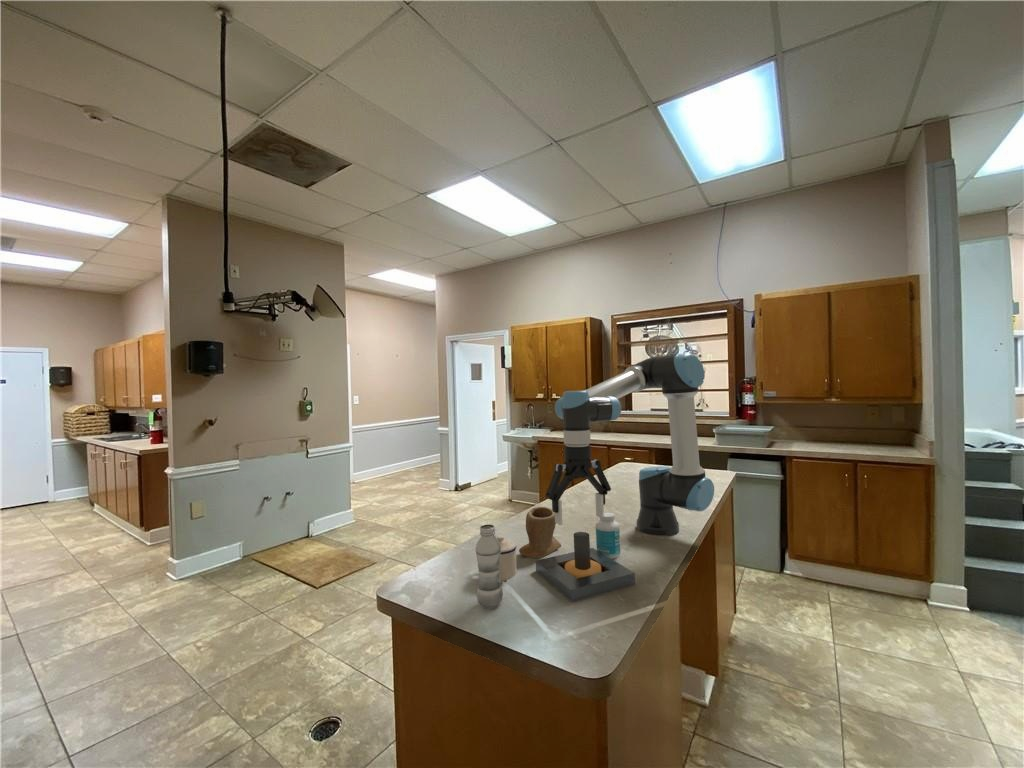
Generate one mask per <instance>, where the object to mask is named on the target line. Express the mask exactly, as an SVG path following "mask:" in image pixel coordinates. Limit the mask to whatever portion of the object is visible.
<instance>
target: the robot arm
mask: <svg viewBox="0 0 1024 768" xmlns="http://www.w3.org/2000/svg"><path fill="white" fill-rule="evenodd" d="M705 374H706V373H705V368H704V365H703V363H702V361H701V359H699V357H697V356H696V355H695V354H693V353H680V352H679V353H676V354H675V353H674V354H668V355H658V356H653V357H649V358H646V359H644V360H641V361H639V362H637V363H634V364H632V365H631V366H628V367H626V369H625V370H624V371H623V372H621V373H619V374H617V375H616V376H612V377H611V378H608V379H606V380H604V381H603V382H600V383H597V384H596V385H593V386H591V387H589V388H587V389H585V390H566V391H563V394H562V397H560V398H557V400H556V402H555V404H554V412H555V415H556V416H557V418H559V419H561V420H562V427H563V444H564V446H563V455H564V457H563V458H564V464H560V463H555V464H554V472H553V475H552V476H551V480H550V482H549V484H548V488H547V490H546V492H545V497H544V498H546V499H548V500H551V509H552V510H553V512H555V523H556V525H559V526H563V503H562V502H563V501H562V500H560V499H561V497H562V496H563V495H564V493H565V491H566V489H567V488H568V486H570V485H569V484H571V482H573V480H574V479H575V480H577V479H578V480H579V479H580V478H581V479H585V478H586V480H588V482H589V483H590V484H591V485H592V486H593V487H594V489H595V490H596V491H597V492H595V515H596V517H598V518H600V517H601V518H604V513H605V511H604V510H605V509H604V506H605V505H606V496H607V495H608V492H611V490H612V488H611V485H610V483H609V481H608V479H607V477H606V475H605V473H604V471H603V469H602V465H601V460H599V459H595V458H594V459H591V458H592V451H591V450H592V448H591V447H592V446H590V444H591V443H592V442H591V441H592V440H591V423H599V422H600V423H603V422H611V421H616V420H617V419H618V418H620V416H621V413H622V405H621V402H620V400H619V399H621V398H622V397H624V396H627V395H629V394H630V393H631V394H632V393H633V392H634V393H635V392H636V393H638V392H641V391H643V390H647V389H648V390H649V389H661V392H662V393H661V394H662V395H663V396H664V397H666V399H667V408H668V419H669V420H668V421H669V422H668V423H669V432H670V443H671V454H672V455H671V457H672V466H665V465H664V466H663V465H662V466H650V467H649V466H648V467H644V468H641V469H640V470H639V472H638V485H639V486H638V491H639V502H640V503H639V505H640V509H639V512H638V515H637V519H636V522H635V523H636V524H635V525H636V529H637V531H639V532H641V533H643V534H645V535H651V536H652V535H653V536H658V537H659V536H661V537H662V536H663V537H665V536H672V535H675V534H676V535H677V533H679V532H680V524H679V522H678V519H677V516H676V513H675V511H674V507H676V508H681V509H684V510H688V511H695V512H703V511H705V510H707V509H708V508H709V507H710V505H711V504H712V502H713V500H714V495H715V485H714V482H713V481H712V479H711V478H709V477H707V476H706V470H705V469H704V468H703V467H702V466H701V465H700V453H699V443H698V442H699V441H698V439H699V438H698V429H697V420H696V418H697V417H696V406H695V396H696V395H697V394H698V393H699V387H701V386H702V385H703V384H704V381H705V378H706V377H705ZM591 469H593V471H594V473H595V475H596V477H597V478H596V477H595V475H594V474H593V473H592V471H591ZM563 473H564V474H563ZM561 478H562V479H561Z"/></svg>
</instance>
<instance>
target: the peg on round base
mask: <svg viewBox="0 0 1024 768" xmlns="http://www.w3.org/2000/svg"><path fill="white" fill-rule="evenodd" d="M590 545H591V543H590V533H588V532H586V531H576V532H574V533H573V549H574V550H573V552H574V555H575V560H571V561H569V562H567V563H566V564H565V570H566V571H567V572H568V573H570V574H571V575H572V576H574V577H575V578H576V579H577V578H581V577H585V576H589V575H593V574H597V573H601V565H600V564H599V563H597V562H595V561H593V560H590V548H591V546H590Z"/></svg>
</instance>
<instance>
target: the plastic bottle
mask: <svg viewBox="0 0 1024 768" xmlns="http://www.w3.org/2000/svg"><path fill="white" fill-rule="evenodd" d="M495 529H496V528H495V525H494V524H487V523H486V524H483V525H480V526H479V535H480V538H479V539H478V540H477V542H476V545H475V555H476V561H477V568H478V581H477V582H478V583H477V590H476V599H477V604H479V606H480V607H481V608H484V609H493V608H496V607H498V606H499V605H500V604H501V603H502V601H503V597H504V592H503V591H504V590H503V587H502V582H501V580H500V554H501V545H500V542H499V541H498V539H497V536H495V534H496V530H495Z"/></svg>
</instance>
